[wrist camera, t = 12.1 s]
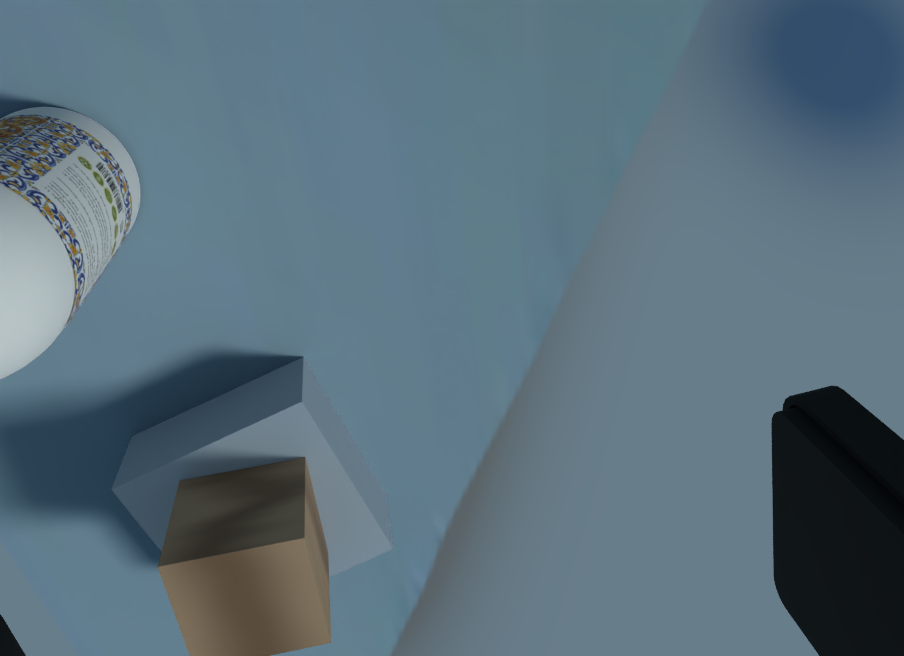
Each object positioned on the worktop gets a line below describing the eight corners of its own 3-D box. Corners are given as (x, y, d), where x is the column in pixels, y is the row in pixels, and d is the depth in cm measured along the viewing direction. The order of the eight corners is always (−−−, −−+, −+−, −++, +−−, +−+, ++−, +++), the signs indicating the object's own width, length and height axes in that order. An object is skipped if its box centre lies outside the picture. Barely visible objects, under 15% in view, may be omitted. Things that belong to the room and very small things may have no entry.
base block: (303, 353, 42) (302, 401, 37) (386, 491, 46) (393, 548, 42) (133, 432, 42) (110, 489, 38) (230, 561, 47) (221, 626, 42)
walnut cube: (305, 457, 39) (304, 537, 33) (328, 553, 41) (330, 642, 36) (179, 480, 38) (157, 566, 33) (210, 576, 41) (195, 671, 35)
